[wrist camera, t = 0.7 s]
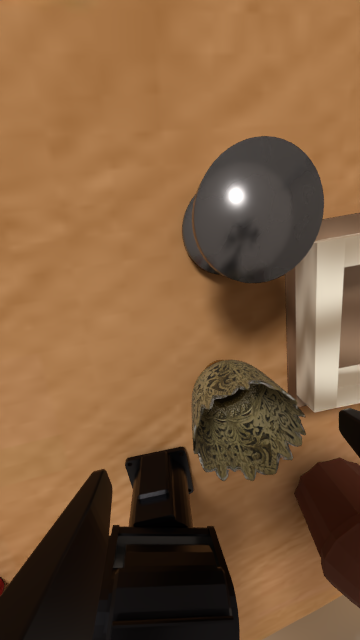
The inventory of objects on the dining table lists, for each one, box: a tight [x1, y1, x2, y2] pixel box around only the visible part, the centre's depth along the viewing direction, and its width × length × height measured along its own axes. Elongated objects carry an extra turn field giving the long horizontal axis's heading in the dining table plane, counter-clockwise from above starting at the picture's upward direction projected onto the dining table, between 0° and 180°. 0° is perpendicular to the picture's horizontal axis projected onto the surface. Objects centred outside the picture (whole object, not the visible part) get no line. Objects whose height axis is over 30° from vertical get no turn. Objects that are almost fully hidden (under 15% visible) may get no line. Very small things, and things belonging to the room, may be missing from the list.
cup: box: [192, 360, 306, 481], centre depth 17 cm, size 8×7×8 cm
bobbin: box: [182, 136, 324, 283], centre depth 14 cm, size 7×7×6 cm
